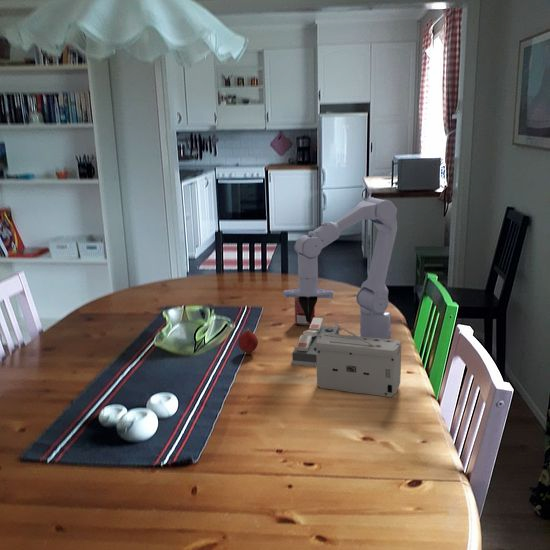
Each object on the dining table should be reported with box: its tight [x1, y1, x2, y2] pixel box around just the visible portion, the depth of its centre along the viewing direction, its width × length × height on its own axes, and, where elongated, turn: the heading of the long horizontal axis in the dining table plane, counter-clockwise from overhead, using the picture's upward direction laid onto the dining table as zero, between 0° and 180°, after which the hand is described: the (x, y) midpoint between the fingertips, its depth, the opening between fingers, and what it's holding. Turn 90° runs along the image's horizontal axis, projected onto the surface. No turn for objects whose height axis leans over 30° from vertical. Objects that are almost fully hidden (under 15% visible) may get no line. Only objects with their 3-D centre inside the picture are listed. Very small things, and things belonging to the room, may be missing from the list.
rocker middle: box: [302, 329, 318, 337], centre depth 170 cm, size 3×6×1 cm, turn 163°
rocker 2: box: [308, 317, 324, 332], centre depth 177 cm, size 3×6×1 cm, turn 163°
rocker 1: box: [295, 334, 312, 351], centre depth 162 cm, size 3×6×1 cm, turn 163°
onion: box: [237, 328, 259, 355], centre depth 166 cm, size 6×6×8 cm
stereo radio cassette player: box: [316, 314, 402, 398], centre depth 141 cm, size 21×8×20 cm, turn 70°
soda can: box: [294, 297, 316, 327], centre depth 191 cm, size 7×7×12 cm
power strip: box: [290, 324, 341, 368], centre depth 170 cm, size 9×27×4 cm, turn 163°
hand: (308, 320), depth 167 cm, fingers closed
